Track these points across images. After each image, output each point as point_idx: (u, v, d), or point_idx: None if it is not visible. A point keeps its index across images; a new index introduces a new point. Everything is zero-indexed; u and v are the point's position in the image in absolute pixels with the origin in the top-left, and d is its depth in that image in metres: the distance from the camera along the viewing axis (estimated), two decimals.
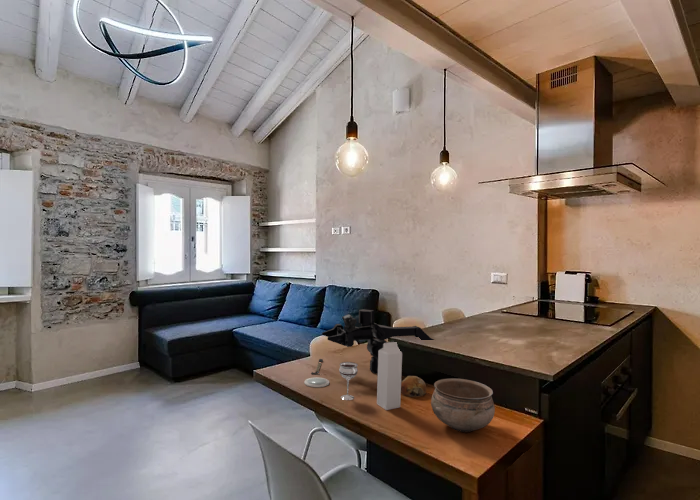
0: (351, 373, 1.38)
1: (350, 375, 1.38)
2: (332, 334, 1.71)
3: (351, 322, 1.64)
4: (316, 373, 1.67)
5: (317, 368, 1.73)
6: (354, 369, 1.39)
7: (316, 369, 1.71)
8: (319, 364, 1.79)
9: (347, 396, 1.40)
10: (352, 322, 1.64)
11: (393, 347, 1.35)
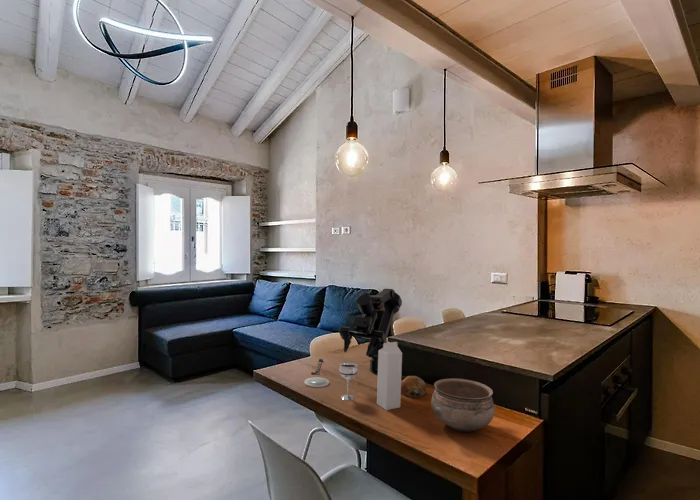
0: (351, 373, 1.38)
1: (350, 375, 1.38)
2: (348, 342, 1.54)
3: (370, 323, 1.50)
4: (316, 372, 1.67)
5: (317, 368, 1.73)
6: (354, 369, 1.39)
7: (316, 369, 1.71)
8: (319, 364, 1.79)
9: (347, 396, 1.40)
10: (370, 322, 1.50)
11: (393, 347, 1.35)
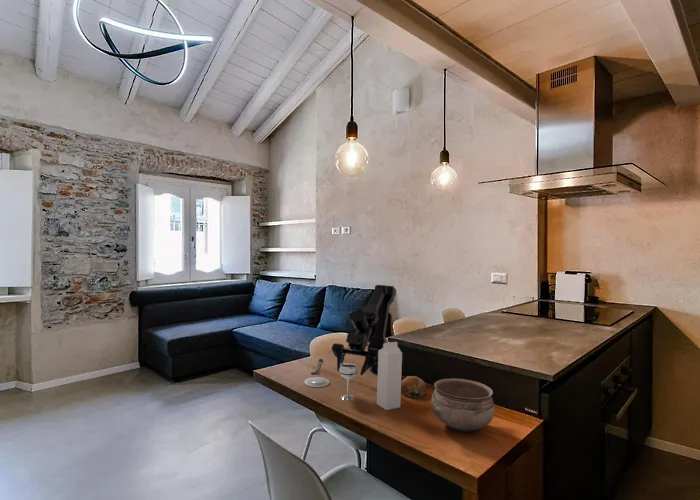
0: (351, 373, 1.38)
1: (350, 375, 1.38)
2: (341, 360, 1.47)
3: (364, 340, 1.43)
4: (316, 372, 1.67)
5: (317, 368, 1.73)
6: (354, 369, 1.39)
7: (316, 369, 1.71)
8: (319, 364, 1.79)
9: (347, 396, 1.40)
10: (364, 339, 1.44)
11: (393, 347, 1.35)
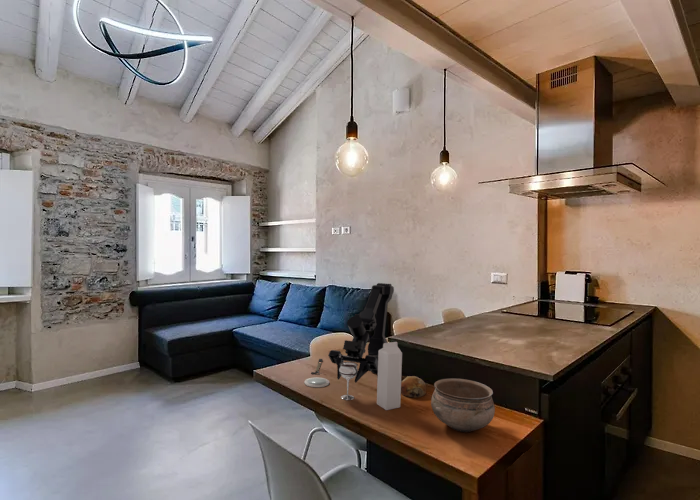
0: (351, 373, 1.38)
1: (350, 375, 1.38)
2: None
3: (361, 347, 1.41)
4: (316, 372, 1.67)
5: (317, 368, 1.73)
6: (354, 369, 1.39)
7: (316, 369, 1.71)
8: (319, 364, 1.79)
9: (347, 396, 1.40)
10: (362, 346, 1.41)
11: (393, 347, 1.35)
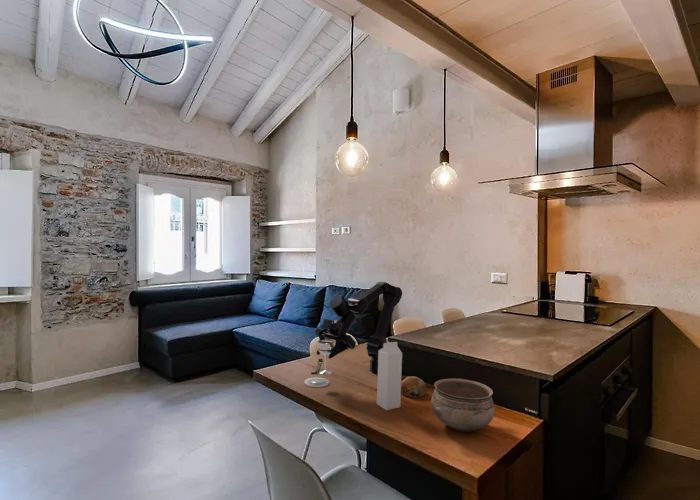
0: (325, 349, 1.46)
1: (324, 351, 1.46)
2: None
3: (337, 326, 1.48)
4: (316, 373, 1.68)
5: (317, 368, 1.73)
6: (328, 346, 1.47)
7: (316, 369, 1.72)
8: (319, 364, 1.79)
9: (324, 371, 1.49)
10: (338, 325, 1.48)
11: (393, 347, 1.35)
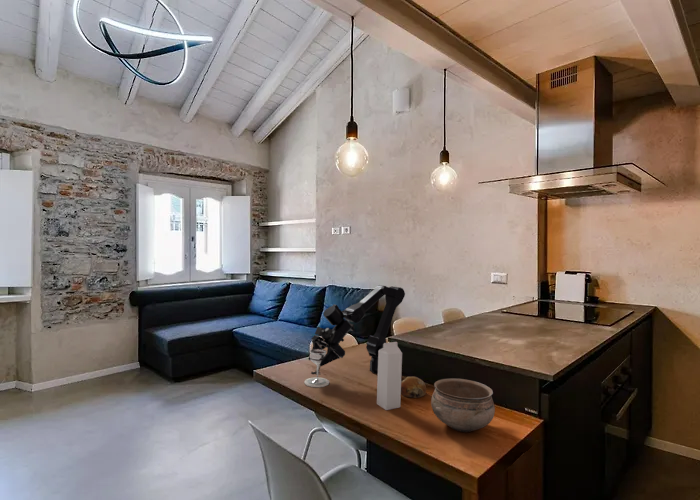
0: (315, 358, 1.52)
1: (314, 360, 1.52)
2: None
3: (327, 334, 1.53)
4: (316, 372, 1.68)
5: None
6: (319, 355, 1.52)
7: (316, 368, 1.72)
8: None
9: (316, 379, 1.55)
10: (328, 333, 1.53)
11: (393, 347, 1.35)
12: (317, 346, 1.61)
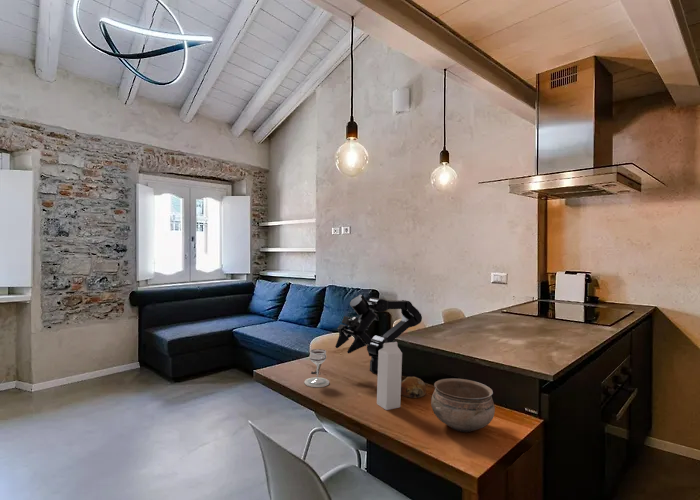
0: (315, 358, 1.52)
1: (314, 360, 1.52)
2: (343, 339, 1.67)
3: (354, 323, 1.59)
4: (316, 372, 1.68)
5: None
6: (318, 355, 1.52)
7: (316, 368, 1.72)
8: None
9: (315, 379, 1.55)
10: (355, 322, 1.60)
11: (393, 347, 1.35)
12: (343, 335, 1.68)
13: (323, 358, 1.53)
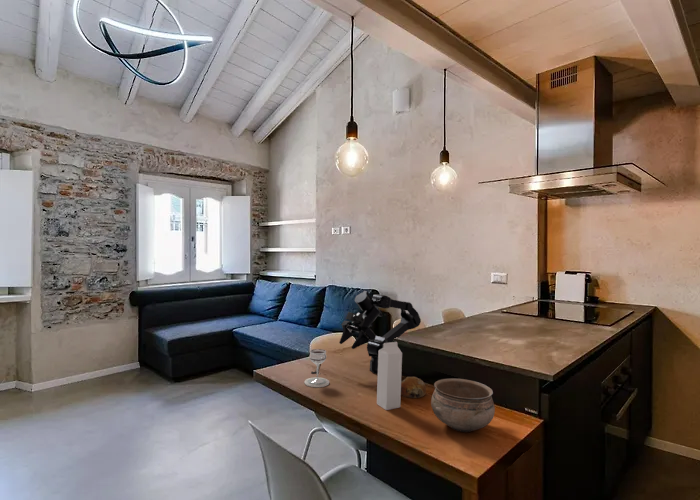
0: (315, 358, 1.52)
1: (314, 360, 1.52)
2: (347, 335, 1.68)
3: (359, 319, 1.60)
4: (316, 372, 1.68)
5: None
6: (318, 355, 1.52)
7: (316, 368, 1.72)
8: None
9: (315, 379, 1.55)
10: (359, 318, 1.60)
11: (393, 347, 1.35)
12: (347, 331, 1.68)
13: (323, 358, 1.53)
